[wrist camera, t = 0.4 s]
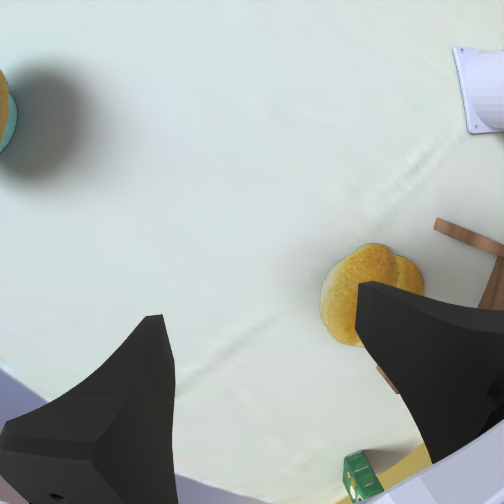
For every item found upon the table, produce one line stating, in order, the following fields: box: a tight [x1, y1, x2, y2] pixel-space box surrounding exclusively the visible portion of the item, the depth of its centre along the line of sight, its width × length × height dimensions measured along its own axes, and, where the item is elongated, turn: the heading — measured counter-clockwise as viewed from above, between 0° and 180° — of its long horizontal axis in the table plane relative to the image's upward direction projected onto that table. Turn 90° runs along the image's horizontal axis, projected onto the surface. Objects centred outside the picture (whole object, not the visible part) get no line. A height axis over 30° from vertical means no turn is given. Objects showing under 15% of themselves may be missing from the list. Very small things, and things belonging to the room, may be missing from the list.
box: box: [377, 218, 504, 394], centre depth 25 cm, size 13×15×4 cm
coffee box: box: [343, 451, 384, 504], centre depth 28 cm, size 8×3×13 cm, turn 11°
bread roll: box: [320, 244, 424, 348], centre depth 22 cm, size 8×9×4 cm
